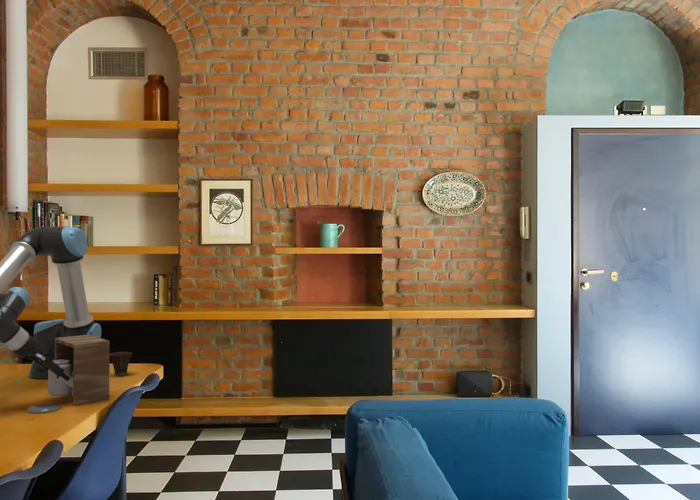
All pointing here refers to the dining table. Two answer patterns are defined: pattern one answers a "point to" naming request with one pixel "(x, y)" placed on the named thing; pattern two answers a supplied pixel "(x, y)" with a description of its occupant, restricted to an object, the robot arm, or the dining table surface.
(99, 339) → the wooden box
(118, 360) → the cup
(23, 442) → the dining table surface
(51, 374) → the can
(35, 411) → the coaster
